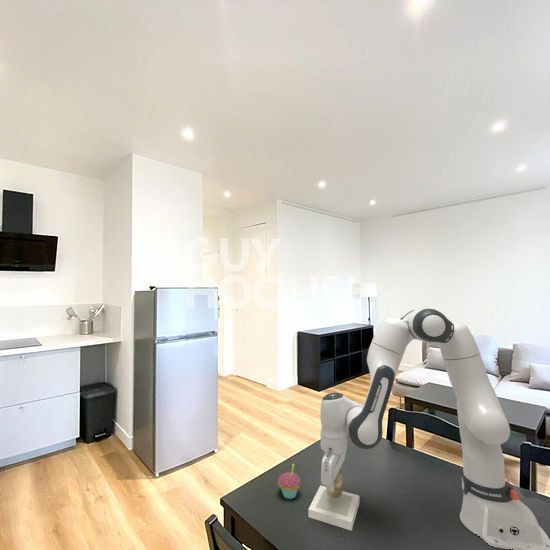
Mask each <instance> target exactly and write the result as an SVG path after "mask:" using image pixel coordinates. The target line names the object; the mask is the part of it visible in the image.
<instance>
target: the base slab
mask: <svg viewBox="0 0 550 550" xmlns="http://www.w3.org/2000/svg"><path fill="white" fill-rule="evenodd" d="M359 506H360V495H358V494H355V493H351V492H348V491H344V490H342V496H341V497H339V498H333V497H330V496H328V495H327V492H326V485H321V484H320V485H319V487H318V489H317V491H316V494H315V495H314V497H313V499H312V501H311V504H310V506H309V507H308V516H307V517H308V518H310V519H313V520H317V521H319V522H323V523H326V524H329V525H333V526H335V527H339V528H342V529H344V530H347V531H353V527H354V525H355V521H356V517H357V513H358V509H359Z"/></svg>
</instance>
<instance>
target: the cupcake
mask: <svg viewBox="0 0 550 550" xmlns="http://www.w3.org/2000/svg"><path fill="white" fill-rule="evenodd" d="M294 469H295V462H293V463H292V467H291V471H290V472H289V471H288V472H287V471H285V472H283V473H281V474H280V475H279V477H278V479H277V486H278V488H279V489H281V492H282V496H283V497H284V498H285V499H288V500H291V499H294V498H296V497H297V493H298V491H299V489H300V487H301V485H302V479H301V478H300V476H299V475H298V474H297V473H294Z"/></svg>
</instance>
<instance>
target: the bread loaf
mask: <svg viewBox="0 0 550 550" xmlns="http://www.w3.org/2000/svg"><path fill="white" fill-rule="evenodd" d="M342 473H343V472H342V469H340V470H339V472H338V474H337V477H336V479H335V481H334V484H335V490H334V492H331V491H329V486H326V485H325V487H326V492H327V495H328V496H330V497H333V498H339V497H341V496H342V491H343V479H342V478H343V477H342V476H343V474H342Z"/></svg>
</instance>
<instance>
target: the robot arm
mask: <svg viewBox="0 0 550 550" xmlns="http://www.w3.org/2000/svg"><path fill="white" fill-rule="evenodd" d="M413 340H418V341H421V342H428V343H436V345H437V346H438V348H439V349H440V353H441V356H442V359H443V360H442V361H443V363H444V366H445V370H446V372H447V376H448V379H449V382H450V384H451V387H452V389H453V392H454V394H455V398H456V410H457V412H456V413H457V419H458V420H457V421H458V427H459V436H460V440H461V441H460V442H461V448H462V449H461V450H462V469H463V470H462V472H461V488H462V492H463V494H462V495H463V498H462V505H461V509H460V512H459V519H460V521H461V523H462V524H463V525H464V527H466V529H468V530H469V531H470V532H471V533H473V534H475V535H476V534H477V535H476V536H478V537H479V536H480V537H479V538H480V539H482V540H483V541H484V543H486V544H487V543H488V545H489V546H490V547H492V546H493V547H494V548H499V549H505V550H509V549H511V550H512V549H513V550H550V538H549V536H548V535H547V533H546V532H545V530H544V529H543V528H542V527H541V525H539V522H538V520H537V518H536V516H535V515H534V513H533V512H532V510H531V509H530V508H529V507H528V506H527V505H525V504H524V503H523V502H522V501H521V500H520V496H519V494H518V492H517V491H516V490H514V486H512V484H510V482H509V480H508V479H507V480H506V475H505V474H506V473H505V457H504V453H503V451H502V450H503V449H502V447H501V446H502V445H503V444H505V443H506V442H507V441H508V440H509V438H510V436H511V427H510V424H509V422H508V420H507V419H508V418H507V417H506V414H505V413H504V409H503V407H502V405H501V403H500V399H499V398H498V396H497V393H496V391H495V389H494V387H493V385H492V383H491V380H490V378H489V376H488V373H487V369H486V367H485V364H484V361H483V358H482V355H481V352H480V350H479V347H478V345H477V342H476V339H475V338H474V336H473V334H472V332H471V330H470V329H469V327H468V326H467V325H466V324H464V323H463V322H459V321H450V319H449V318H448V317H447V316H446V315H444V314H443V313H442V312H441V311H440V310H437V309H435V308H425V307H424V308H421V307H420V308H417V309H412V310H411V311H410V310H409V312H407V313H406V314H404V315H403V316H401V318H398V317H393V316H392V317H391V316H390V317H386V318H384V319H383V320H382V321H381V323H380V325H379V326H378V328H377V330H376V332H375V334H374V336H373V338H372V340H371V343H370V345H369V346H368V347H369V348H368V350H367V356H366V363H367V366H368V371H369V376H370V383H369V389H368V390H367V391H368V392H367V394H366V397H365V400H364V403H362V402H358V401H355V400H352V399H350V398H348V397H347V396H346V395H344V394H343V393H340V392H330V393H327V394H326V395H324V396H323V398H322V399H321V403H320V414H319V415H320V417H319V419H320V423H321V429H320V448H321V450H322V451H324V455H323V457H322V460H321V465H320V466H321V468H320V469H321V470H320V482H321V484H322V486H325V487H326V486H329V491H331V492H334V490H335V484H334V481H335V479H336V477H337V474H338V472H339V470H341V467H342V465H343V463H344V461H345V459H346V454H347V453H346V452H347V449H348V440H349V439H348V438H350V441H351V442H352V444H354V445H355V446H356V447H357V448H359V449H362V450H371V449H374V448H376V447H377V446H378V445H379V444H380V443H381V442H382V438H383V435H384V434H383V432H384V431H383V420H384V416H385V413H386V409H387V406H388V402H389V399H390V396H391V392H392V389H393V386H394V382H395V379H396V376H397V373H398V371H399V368H400V365H401V362H402V360H403V357H404V355H405V352H406V349H407V347H408V346H409V344H410V343H411V342H412V341H413ZM348 436H349V437H348ZM493 547H492V548H493Z"/></svg>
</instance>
